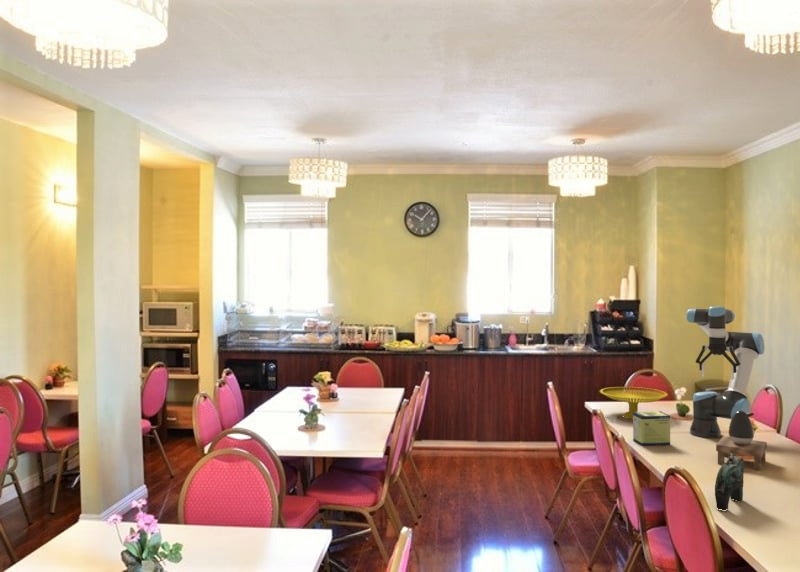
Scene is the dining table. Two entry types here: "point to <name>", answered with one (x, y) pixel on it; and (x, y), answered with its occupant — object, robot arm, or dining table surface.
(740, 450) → the walnut footstool
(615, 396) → the cake stand
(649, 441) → the protein box
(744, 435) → the dark grey egg shape
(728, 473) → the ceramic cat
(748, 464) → the dining table surface
